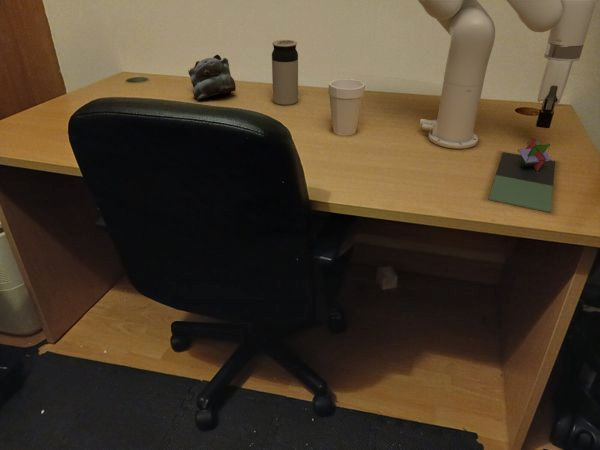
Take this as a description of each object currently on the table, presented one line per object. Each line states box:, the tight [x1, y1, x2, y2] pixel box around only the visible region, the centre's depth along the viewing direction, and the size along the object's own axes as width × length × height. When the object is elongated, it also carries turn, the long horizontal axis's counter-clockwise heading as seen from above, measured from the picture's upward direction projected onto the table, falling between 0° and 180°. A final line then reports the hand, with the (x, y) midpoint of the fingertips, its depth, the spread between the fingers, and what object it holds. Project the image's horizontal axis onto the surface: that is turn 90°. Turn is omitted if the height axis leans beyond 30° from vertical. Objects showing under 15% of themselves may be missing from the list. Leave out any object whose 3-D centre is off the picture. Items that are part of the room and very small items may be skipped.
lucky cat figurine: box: [187, 54, 237, 101], centre depth 155 cm, size 15×12×14 cm
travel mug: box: [271, 39, 299, 106], centre depth 148 cm, size 8×8×18 cm
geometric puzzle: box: [517, 138, 553, 172], centre depth 111 cm, size 7×7×8 cm
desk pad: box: [487, 151, 556, 214], centre depth 108 cm, size 12×26×1 cm, turn 154°
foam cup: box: [328, 78, 366, 136], centre depth 128 cm, size 10×9×13 cm
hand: (542, 126), depth 121 cm, fingers closed
